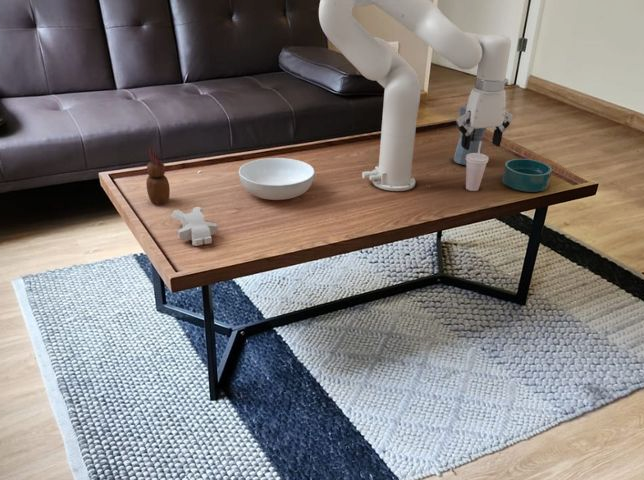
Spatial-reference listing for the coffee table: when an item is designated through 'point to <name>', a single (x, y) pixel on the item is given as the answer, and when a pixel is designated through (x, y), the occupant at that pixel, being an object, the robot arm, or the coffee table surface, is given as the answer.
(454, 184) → the coffee table surface
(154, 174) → the wooden figurine
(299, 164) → the serving bowl
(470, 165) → the smoothie
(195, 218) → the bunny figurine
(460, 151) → the moka pot
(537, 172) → the bowl
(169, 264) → the coffee table surface
